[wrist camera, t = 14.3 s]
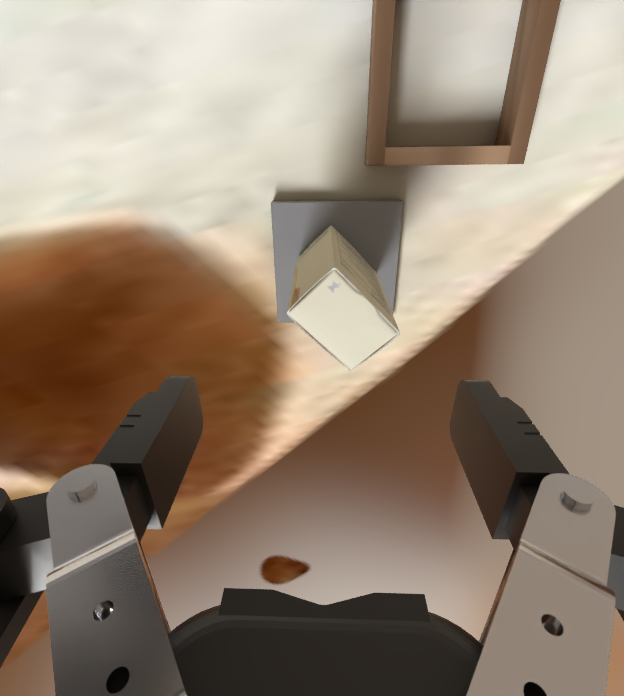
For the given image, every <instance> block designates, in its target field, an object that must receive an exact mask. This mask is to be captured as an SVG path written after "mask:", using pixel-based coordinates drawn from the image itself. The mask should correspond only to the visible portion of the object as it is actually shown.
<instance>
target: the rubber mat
mask: <svg viewBox="0 0 624 696" xmlns="http://www.w3.org/2000/svg"><path fill="white" fill-rule="evenodd" d="M402 212H403V201H402V200H332V201H272V202H271V213H272V229H273V246H274V262H275V279H276V295H277V312H278V323H295V322H294V321H293V320H292V319H291V318H290V317H289V316H288V315H287V308H288V303H289V299H290V294H291V289H292V284H293V279H294V274H295V269H296V265H297V260H298V257H299V256H300V255H301V254H302V253H303V251H304V250H305V249H306V248H307V247H308V246H309V245H310V244H311V243H312V242H313V241H314V240H315V239H316V238H317V237H318V236H320V235H321V234H322V233H323V232H324V231H325V230H326V229H327V228H328V227H329V226H333V227H334V228H335V229H336V230H337V231H338V232H339V233H340V234H341V235H342V236H343V237H344V238H345V239H346V240H347V241H348V242H349V243H350V244H351V245H352V246H353V247H354V248H355V249H356V250H357V251H358V253H359V254H360V255H361V256H362V257H363V258H364V259H365V260H366V261H367V262H368V263H369V265H370V266H371V267H372V268H373V269H374V270H375V272H376V273H377V276H378V278H379V281H380V284H381V286H382V289H383V291H384V294H385V296H386V299H387V301H388V304H389V307H390V309H391V312H392V314H393V306H394V296H395V285H396V275H397V264H398V254H399V243H400V233H401V222H402Z"/></svg>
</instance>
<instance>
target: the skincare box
mask: <svg viewBox="0 0 624 696" xmlns="http://www.w3.org/2000/svg"><path fill="white" fill-rule="evenodd" d="M287 315H288V316H289V317H290V318H291V319H292V320H293V321H294V322H295V323H296V324H297V325H298V326H299V327H300V328H301V329H302V330H303V331H304V332H305V333H306V334H308V335H309V336H310V337H311V338H312V339H313V340H314V341H315V342H317V343H318V344H319V345H320V346H321V347H322V348H323V349H325V350H326V351H327V352H328V353H329V354H330V355H331V356H333V357H334V358H335V359H336V360H337V361H339V362H340V363H341V364H342V365H343V366H345V367H346V368H347V369H348V370H349V371H352V370H354V369H355V368H356V367H358V366H359V365H361V364H362V363H363V362H365V361H366V360H367V359H369V358H370V357H372V356H373V355H374V354H376V353H377V352H378V351H380V350H381V349H382V348H384V347H385V346H387V345H388V344H389V343H390V342H392V341H393V340H394V339H396V338H397V337H398V336H399V334H400V333H399V329H398V327H397V324H396V322H395V319H394V317H393V314H392V312H391V309H390V307H389V304H388V301H387V299H386V296H385V294H384V291H383V289H382V286H381V284H380V281H379V278H378V276H377V273H376V272H375V270H374V269H373V268H372V267H371V266H370V265H369V263H368V262H367V261H366V260H365V259H364V258H363V257H362V256H361V255H360V254H359V253H358V251H357V250H356V249H355V248H354V247H353V246H352V245H351V244H350V243H349V242H348V241H347V240H346V239H345V238H344V237H343V236H342V235H341V234H340V233H339V232H338V231H337V230H336V229H335V228H334V227H333V226H329V227H328V228H327V229H326V230H325V231H324V232H323V233H322V234H321V235H320V236H318V237H317V238H316V239H315V240H314V241H313V242H312V243H311V244H310V245H309V246H308V247H307V248H306V249H305V250H304V251H303V253H302V254H301V255H300V256H299V257H298V260H297V265H296V269H295V274H294V279H293V284H292V289H291V294H290V299H289V303H288V308H287Z"/></svg>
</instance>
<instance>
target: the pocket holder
mask: <svg viewBox="0 0 624 696" xmlns="http://www.w3.org/2000/svg"><path fill="white" fill-rule="evenodd" d="M560 1H561V0H523V2H522V7H521V12H520V17H519V23H518V28H517V33H516V38H515V44H514V49H513V54H512V60H511V65H510V70H509V75H508V81H507V86H506V91H505V96H504V102H503V107H502V112H501V117H500V123H499V128H498V133H497V138H496V144H495V146H428V147H386V133H387V119H388V104H389V90H390V76H391V61H392V47H393V33H394V18H395V4H396V0H373V10H372V31H371V51H370V72H369V93H368V114H367V135H366V156H365V164H366V165H368V166H387V165H469V164H524V160H525V156H526V151H527V147H528V142H529V138H530V134H531V129H532V125H533V120H534V116H535V112H536V107H537V103H538V98H539V94H540V89H541V85H542V81H543V76H544V72H545V67H546V63H547V59H548V54H549V50H550V45H551V41H552V36H553V32H554V28H555V23H556V19H557V14H558V10H559V5H560Z"/></svg>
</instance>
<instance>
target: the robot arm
mask: <svg viewBox="0 0 624 696" xmlns="http://www.w3.org/2000/svg"><path fill="white" fill-rule="evenodd" d="M202 429H203V414H202V409H201V404H200V398H199V393H198V388H197V383H196V379H195V378H194V377H193V376H168V377H166V379H165V380H164V382H163V383H162V385H161V386H160V388H159V389H158V391H157V392H149V393H148V394H146V395H145V396H144V397H142V398H141V399H140V400H138V401H137V402H135V404H134V405H133V407H132V408H131V409H130V411H129V412H128V414H127V417H125V418H124V419H123V421H122V422H121V423H120V426H119V428H117V429H116V430H115V432H114V433H113V435H112V436H111V437H110V439H109V440H108V442H107V443H106V444H105V446H104V447H103V449H102V450H101V451H100V453H99V454H98V456H97V457H96V458H95V460H94V461H93V463H92V464H91V465H87V466H83V467H80V468H77V469H75V470H73V471H71V472H69V473H68V474H66V475H64V476H63V477H62V478H60V479H59V480H58V481H57V482H56V483H55V484H54V485H53V486H52V488H51V489H50V491H49V492H46V493H42V494H37V495H33V496H29V497H24V498H20V499H16V500H10V498H9V496H8V495H7V493H6V491H5V490H4V489H2V488H0V667H1V666H2V664H3V662H4V660H5V659H6V657H7V655H8V653H9V651H10V650H11V648H12V646H13V644H14V643H15V641H16V639H17V637H18V635H19V634H20V632H21V630H22V628H23V627H24V625H25V623H26V621H27V620H28V618H29V616H30V614H31V612H32V611H33V609H34V607H35V605H36V604H37V602H38V600H39V598H40V596H41V595H42V593H43V591H44V590H45V589H46V593H47V604H48V616H49V627H50V638H51V648H52V659H53V669H54V670H53V671H54V681H55V692H56V696H606V687H607V677H608V668H609V659H610V650H611V640H612V631H613V622H614V612H615V608H617V610H618V612H619V613H620V615H621V617H622V619H623V621H624V508H622V507H619V506H615V505H613V503H612V502H611V500H610V499H609V497H607V495H606V494H605V493H604V492H602V491H601V490H600V489H599V488H597V487H596V486H595V485H593V484H591V483H590V482H588V481H586V480H584V479H582V478H579V477H577V476H573V475H570V474H569V473H568V471H567V470H566V469H565V467H564V466H563V464H562V463H561V462H560V460H559V459H558V457H557V456H556V455H555V453H554V452H553V450H552V449H551V448H550V447H549V445H548V443H547V442H546V441H545V439H544V438H543V436H541V435H540V432H539V431H538V430H537V428H536V427H535V425H534V424H532V421H531V420H530V419H529V417H528V416H527V414H526V413H525V411H524V410H523V409H522V408H521V407H519V406H518V405H517V404H515V403H514V402H513V401H511V400H510V399H509V398H507V397H506V398H505V397H500V396H499V395H498V393H497V392H496V390H495V389H494V387H493V386H492V384H491V383H490V382H489V381H487V380H461V381H460V383H459V385H458V388H457V393H456V398H455V403H454V407H453V411H452V416H451V421H450V433H451V439H452V442H453V444H454V447H455V449H456V452H457V454H458V456H459V459H460V461H461V464H462V466H463V469H464V471H465V473H466V476H467V478H468V481H469V483H470V486H471V488H472V490H473V493H474V495H475V498H476V500H477V503H478V505H479V507H480V510H481V512H482V515H483V517H484V520H485V522H486V525H487V527H488V529H489V532H490V534H491V536H492V539H509V540H510V542H511V544H512V546H513V548H514V549H513V551H512V554H511V556H510V559H509V562H508V565H507V567H506V570H505V573H504V576H503V578H502V581H501V584H500V586H499V589H498V592H497V594H496V597H495V600H494V603H493V605H492V608H491V611H490V614H489V616H488V619H487V622H486V624H485V627H484V629H483V632H482V634H481V637H480V639H479V641H477V640H476V639H475V638H474V637H473V636H472V635H470V634H469V633H468V632H466V631H465V630H463V629H462V628H461V627H459V626H457V625H456V624H454V623H452V622H450V621H449V620H447V619H445V618H443V617H441V616H438V615H436V614H433V613H430V612H428V609H427V604H426V599H425V595H424V594H396V593H372V594H368V595H364V596H360V597H357V598H352V599H349V600H345V601H341V602H337V603H333V604H329V605H319V604H316V603H312V602H309V601H306V600H303V599H300V598H297V597H294V596H291V595H288V594H285V593H281V592H278V591H275V590H264V589H233V588H224V592H223V596H222V601H221V605H219V606H215V607H212V608H210V609H207V610H205V611H202V612H200V613H198V614H196V615H194V616H193V617H191V618H189V619H188V620H186V621H185V622H183V623H182V624H180V625H179V626H177V627H176V628H175V629H174V630H172V631H171V630H170V627H169V624H168V621H167V619H166V615H165V613H164V610H163V607H162V604H161V601H160V598H159V595H158V592H157V589H156V586H155V583H154V580H153V577H152V574H151V571H150V568H149V565H148V562H147V559H146V556H145V553H144V550H143V547H142V544H141V542H140V541H141V539H142V537H143V535H144V533H145V530H146V529H162V528H163V526H164V523H165V521H166V518H167V516H168V514H169V511H170V509H171V506H172V504H173V502H174V499H175V497H176V494H177V492H178V490H179V487H180V485H181V482H182V480H183V478H184V475H185V473H186V471H187V468H188V466H189V463H190V461H191V459H192V456H193V454H194V451H195V449H196V447H197V444H198V442H199V439H200V437H201V434H202Z"/></svg>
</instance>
